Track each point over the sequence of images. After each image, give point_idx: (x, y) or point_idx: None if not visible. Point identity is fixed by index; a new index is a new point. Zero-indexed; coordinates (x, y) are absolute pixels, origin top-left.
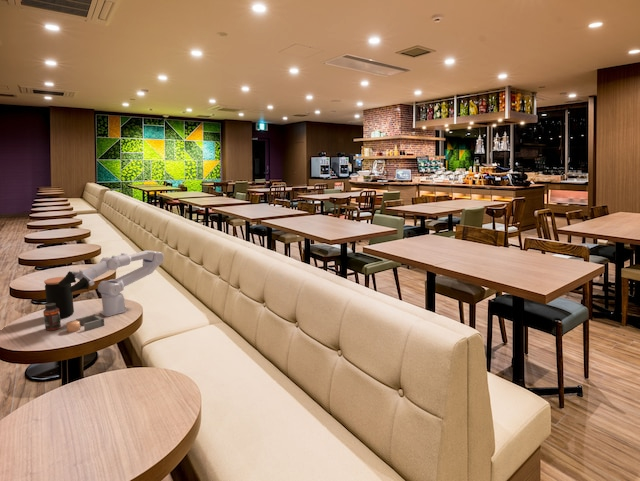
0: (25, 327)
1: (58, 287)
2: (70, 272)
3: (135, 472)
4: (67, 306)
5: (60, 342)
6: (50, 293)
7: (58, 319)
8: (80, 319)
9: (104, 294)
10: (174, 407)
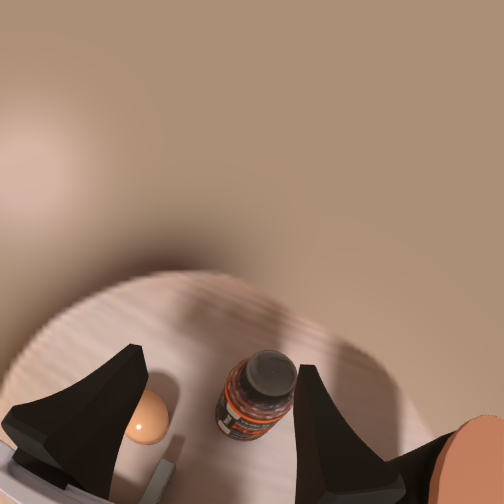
0: (347, 390)
1: (415, 474)
2: (356, 482)
3: None
4: None
5: (109, 324)
6: (417, 449)
7: (220, 408)
8: (156, 469)
9: None
10: None
